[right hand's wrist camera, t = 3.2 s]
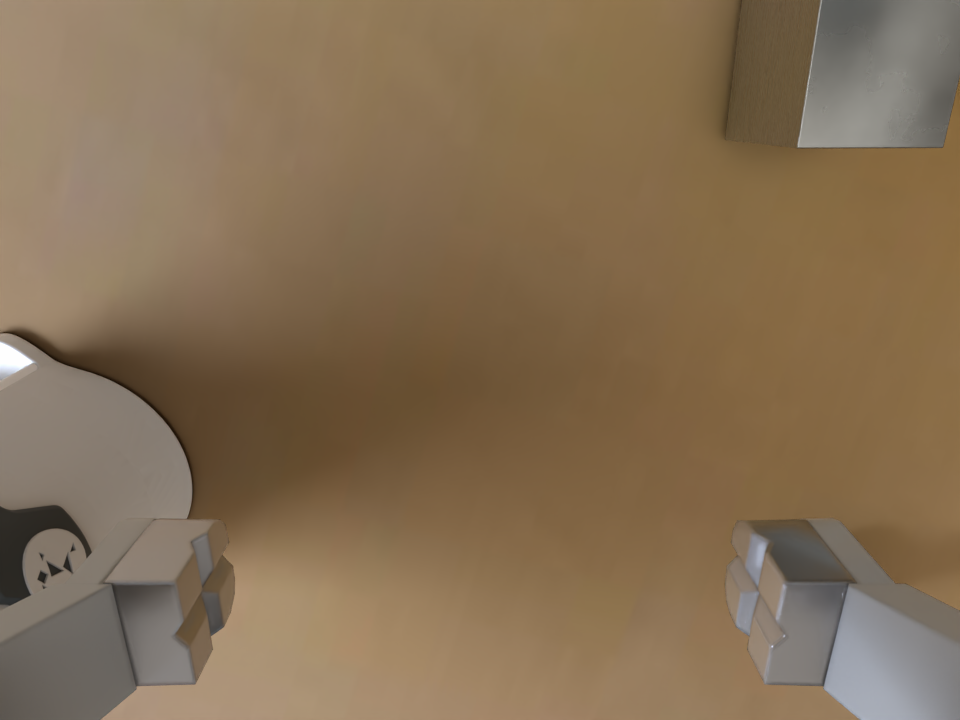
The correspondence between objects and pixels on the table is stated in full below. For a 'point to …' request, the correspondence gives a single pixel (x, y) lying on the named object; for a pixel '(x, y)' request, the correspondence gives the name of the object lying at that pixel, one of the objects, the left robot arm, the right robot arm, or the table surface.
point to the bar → (845, 73)
